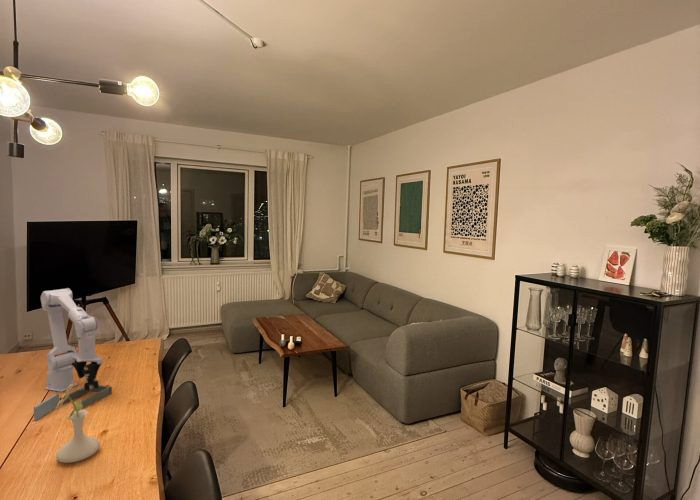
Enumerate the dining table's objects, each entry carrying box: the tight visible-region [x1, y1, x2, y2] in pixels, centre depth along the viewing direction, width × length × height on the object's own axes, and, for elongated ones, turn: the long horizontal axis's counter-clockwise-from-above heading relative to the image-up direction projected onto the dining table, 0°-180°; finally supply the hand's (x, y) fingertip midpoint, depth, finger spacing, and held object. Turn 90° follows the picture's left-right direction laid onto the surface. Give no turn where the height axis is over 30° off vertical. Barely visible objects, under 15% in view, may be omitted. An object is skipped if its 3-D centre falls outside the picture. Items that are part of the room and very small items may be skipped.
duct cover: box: [33, 392, 60, 421], centre depth 142 cm, size 12×1×5 cm, turn 2°
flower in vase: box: [54, 384, 101, 464], centre depth 116 cm, size 13×11×25 cm
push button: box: [79, 366, 100, 390], centre depth 155 cm, size 7×5×10 cm
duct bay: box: [59, 384, 113, 410], centre depth 154 cm, size 11×14×3 cm
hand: (87, 378), depth 154 cm, fingers closed on push button, 5 cm apart
